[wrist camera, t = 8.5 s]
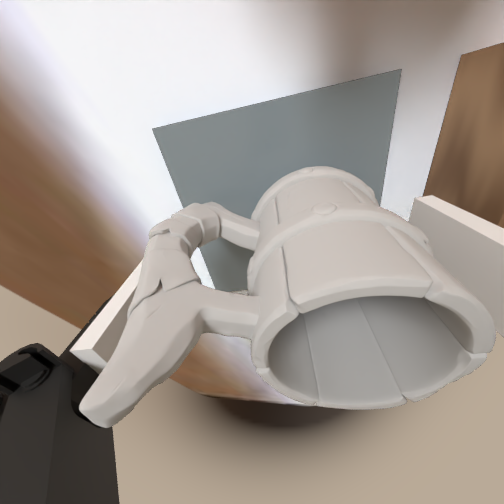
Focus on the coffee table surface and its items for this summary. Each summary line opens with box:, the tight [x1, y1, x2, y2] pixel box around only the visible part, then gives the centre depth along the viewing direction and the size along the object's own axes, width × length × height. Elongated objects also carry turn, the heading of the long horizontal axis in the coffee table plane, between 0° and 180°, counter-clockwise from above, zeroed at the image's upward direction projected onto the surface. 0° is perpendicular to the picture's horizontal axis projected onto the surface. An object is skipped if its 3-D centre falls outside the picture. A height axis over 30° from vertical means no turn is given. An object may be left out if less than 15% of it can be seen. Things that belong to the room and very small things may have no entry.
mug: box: [79, 166, 496, 428], centre depth 9 cm, size 8×12×12 cm, turn 79°
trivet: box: [152, 69, 402, 292], centre depth 14 cm, size 13×13×1 cm
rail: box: [423, 43, 504, 228], centre depth 11 cm, size 13×3×5 cm, turn 11°
